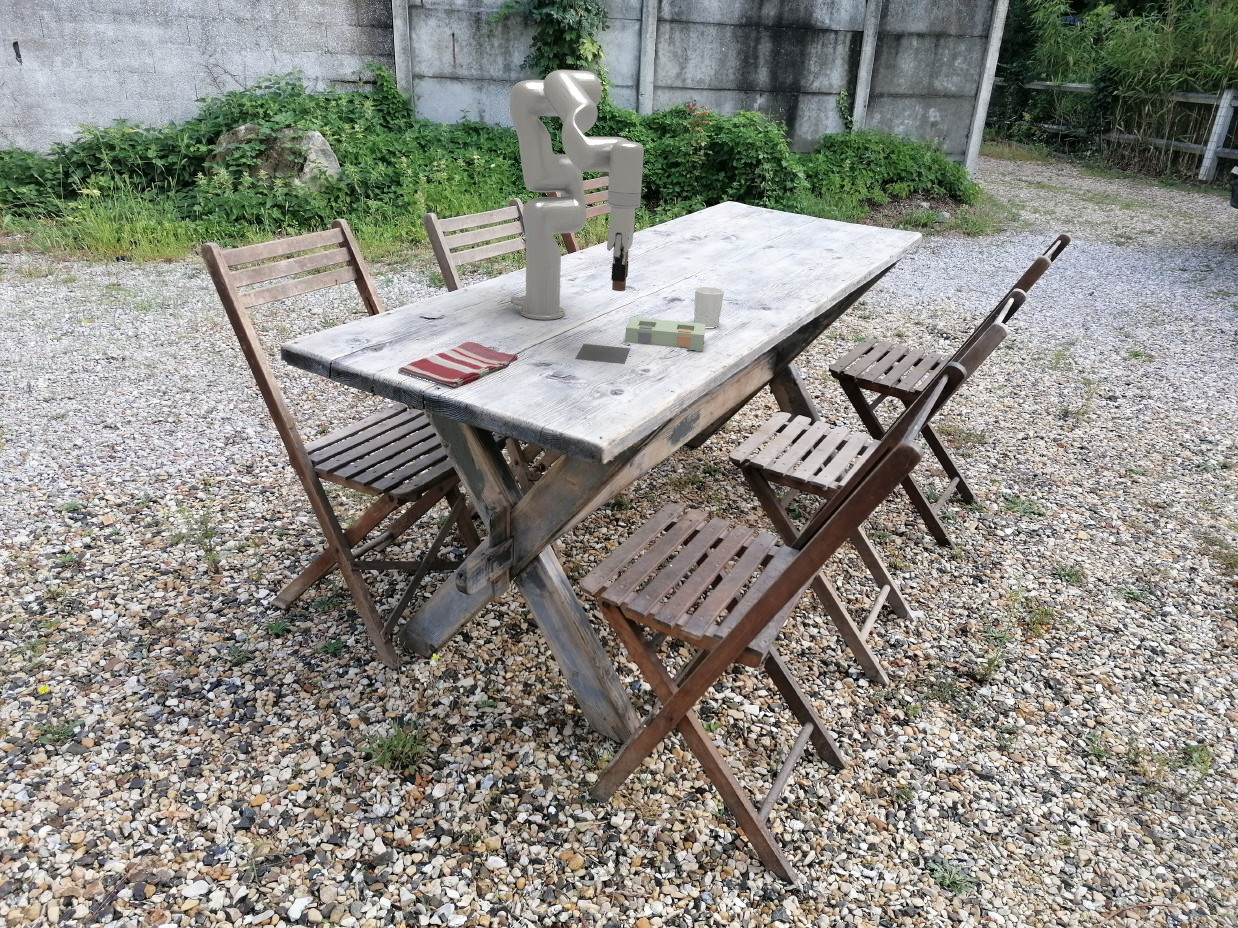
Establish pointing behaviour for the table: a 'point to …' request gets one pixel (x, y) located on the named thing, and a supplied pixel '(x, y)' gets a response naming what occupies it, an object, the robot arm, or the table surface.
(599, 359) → the mat
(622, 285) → the dowel
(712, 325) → the white cup
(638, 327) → the socket block
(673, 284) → the table surface
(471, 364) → the dish towel
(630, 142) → the robot arm
